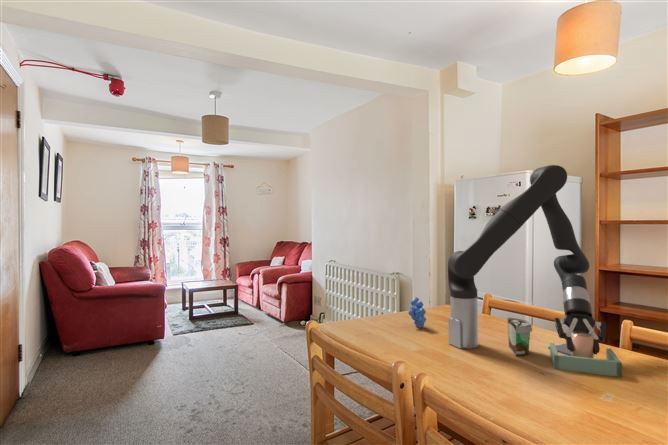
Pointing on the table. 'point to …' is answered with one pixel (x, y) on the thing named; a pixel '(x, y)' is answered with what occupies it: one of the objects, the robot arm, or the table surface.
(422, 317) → the grapes
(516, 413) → the table surface
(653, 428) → the table surface
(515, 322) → the food container
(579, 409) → the table surface
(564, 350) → the mat
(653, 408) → the table surface
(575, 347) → the brown cylinder
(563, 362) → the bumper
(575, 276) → the robot arm
